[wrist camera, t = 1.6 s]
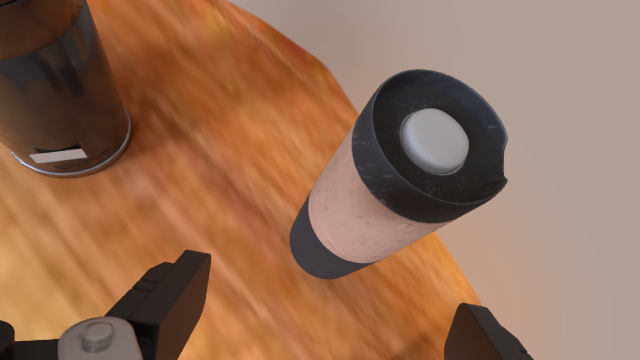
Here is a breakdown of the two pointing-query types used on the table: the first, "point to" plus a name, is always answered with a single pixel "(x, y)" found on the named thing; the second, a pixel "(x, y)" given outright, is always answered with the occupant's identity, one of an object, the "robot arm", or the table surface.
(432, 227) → the travel mug
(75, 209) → the table surface
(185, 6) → the table surface
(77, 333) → the robot arm
